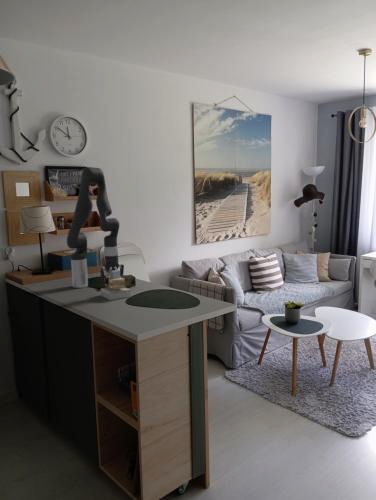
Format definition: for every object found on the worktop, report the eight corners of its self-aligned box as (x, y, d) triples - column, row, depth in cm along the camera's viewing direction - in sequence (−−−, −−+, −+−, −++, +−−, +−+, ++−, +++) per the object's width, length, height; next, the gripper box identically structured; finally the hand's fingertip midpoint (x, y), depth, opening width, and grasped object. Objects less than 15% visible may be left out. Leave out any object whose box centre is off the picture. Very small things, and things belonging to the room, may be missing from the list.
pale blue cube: (110, 277, 225) (110, 270, 224) (117, 276, 227) (116, 269, 226) (113, 279, 221) (113, 271, 221) (120, 277, 224) (120, 270, 223)
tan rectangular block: (104, 284, 230) (104, 276, 229) (114, 283, 233) (114, 274, 233) (114, 289, 218) (114, 280, 218) (124, 287, 222) (124, 278, 221)
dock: (101, 295, 228) (100, 288, 227) (120, 292, 234) (120, 285, 234) (110, 300, 217) (109, 292, 217) (130, 296, 224) (130, 289, 223)
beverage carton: (136, 286, 249) (135, 275, 248) (105, 290, 241) (104, 279, 240) (132, 283, 256) (131, 273, 255) (102, 287, 248) (101, 277, 247)
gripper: (120, 252, 232) (121, 281, 235) (96, 255, 225) (98, 284, 227) (125, 253, 226) (127, 283, 229) (101, 256, 218) (103, 287, 221)
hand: (112, 283), depth 228 cm, fingers closed on tan rectangular block, 6 cm apart
